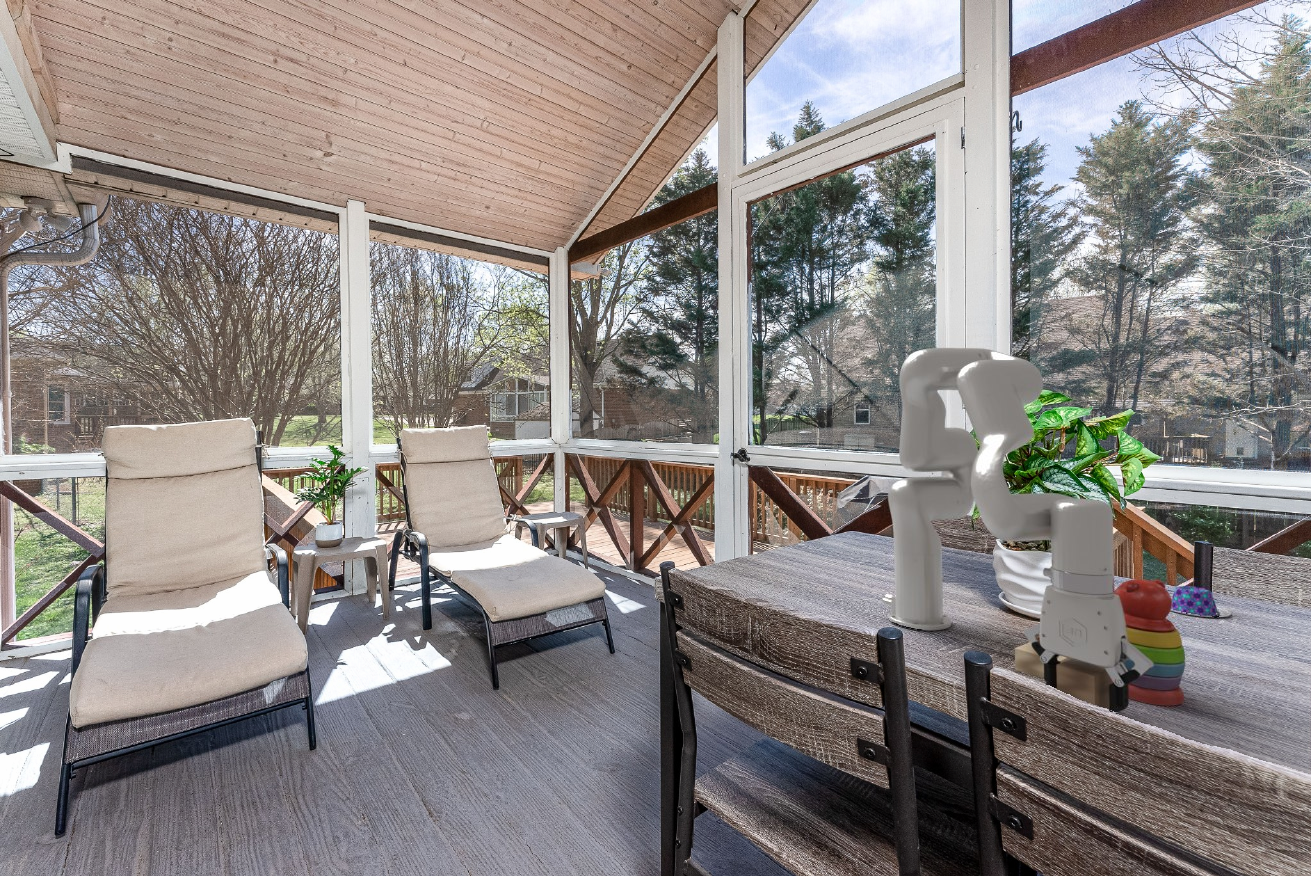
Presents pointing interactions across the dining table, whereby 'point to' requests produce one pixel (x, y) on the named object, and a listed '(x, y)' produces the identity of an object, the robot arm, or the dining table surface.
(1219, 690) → the dining table surface
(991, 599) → the dining table surface
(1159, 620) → the stacking bear
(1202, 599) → the blue patterned hat
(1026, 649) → the oak block
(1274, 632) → the dining table surface
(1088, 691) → the walnut block
